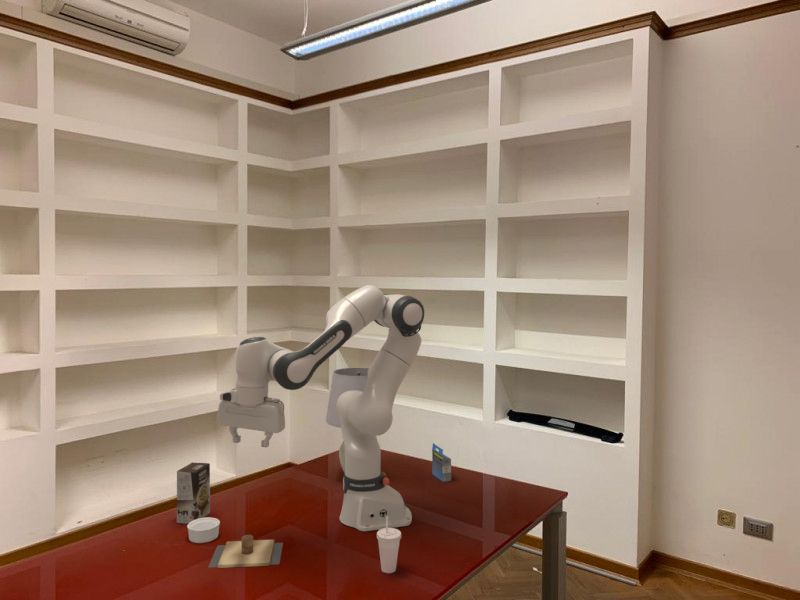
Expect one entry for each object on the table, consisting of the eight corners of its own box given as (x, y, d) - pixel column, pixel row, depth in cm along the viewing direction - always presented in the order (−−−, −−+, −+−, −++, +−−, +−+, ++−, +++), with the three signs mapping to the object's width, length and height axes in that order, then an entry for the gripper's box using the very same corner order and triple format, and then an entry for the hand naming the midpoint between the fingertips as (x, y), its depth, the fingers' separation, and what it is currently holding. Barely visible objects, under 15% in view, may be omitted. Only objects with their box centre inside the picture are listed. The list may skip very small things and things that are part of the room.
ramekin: (181, 538, 167) (181, 524, 167) (209, 528, 174) (209, 514, 174) (198, 548, 161) (197, 533, 161) (226, 537, 168) (226, 523, 168)
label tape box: (451, 481, 214) (452, 448, 214) (441, 482, 213) (442, 449, 212) (440, 473, 223) (441, 441, 222) (431, 474, 221) (431, 442, 220)
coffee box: (195, 525, 176) (194, 472, 175) (176, 523, 177) (175, 471, 176) (211, 512, 185) (210, 462, 184) (192, 511, 186) (192, 461, 185)
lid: (274, 542, 164) (274, 525, 164) (269, 565, 151) (269, 547, 151) (227, 544, 163) (226, 527, 163) (217, 567, 150) (217, 549, 150)
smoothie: (375, 563, 154) (376, 511, 153) (400, 562, 154) (400, 511, 153) (376, 576, 147) (377, 522, 147) (402, 575, 148) (402, 521, 147)
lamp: (326, 468, 227) (326, 366, 225) (387, 466, 229) (388, 365, 227) (325, 491, 203) (325, 378, 201) (393, 489, 206) (394, 377, 204)
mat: (283, 544, 164) (283, 542, 164) (279, 565, 152) (279, 564, 152) (217, 546, 162) (217, 545, 162) (208, 568, 150) (208, 567, 150)
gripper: (290, 397, 162) (288, 446, 162) (228, 390, 169) (227, 437, 170) (277, 401, 156) (276, 452, 157) (214, 393, 163) (213, 442, 164)
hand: (250, 444), depth 163 cm, fingers open, 8 cm apart
